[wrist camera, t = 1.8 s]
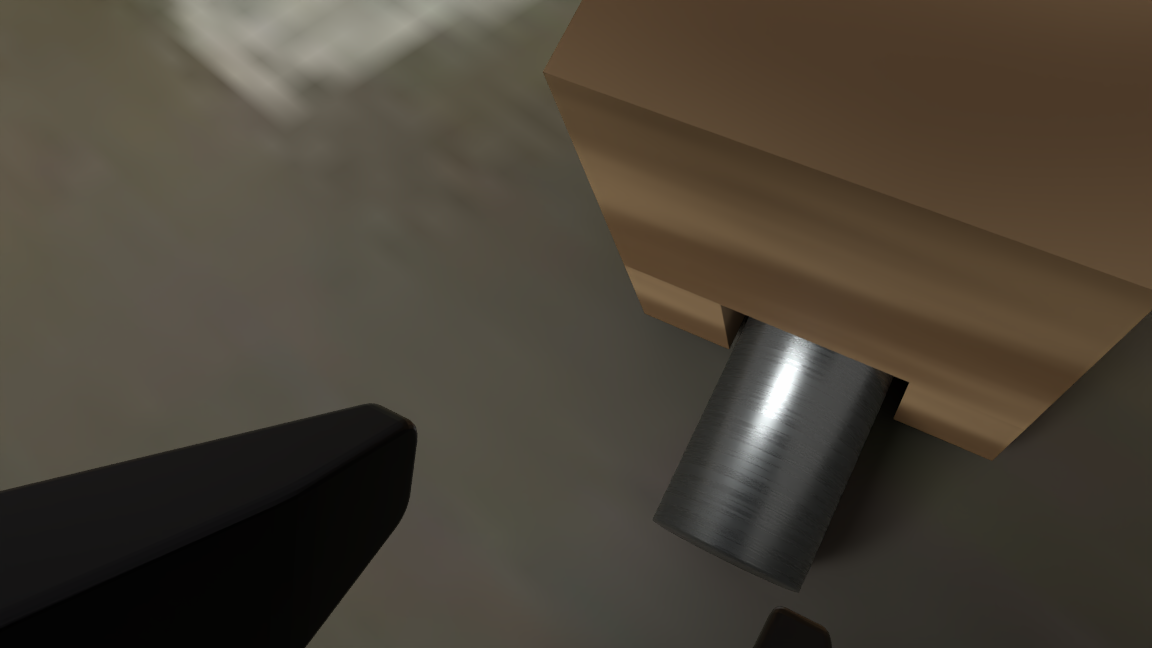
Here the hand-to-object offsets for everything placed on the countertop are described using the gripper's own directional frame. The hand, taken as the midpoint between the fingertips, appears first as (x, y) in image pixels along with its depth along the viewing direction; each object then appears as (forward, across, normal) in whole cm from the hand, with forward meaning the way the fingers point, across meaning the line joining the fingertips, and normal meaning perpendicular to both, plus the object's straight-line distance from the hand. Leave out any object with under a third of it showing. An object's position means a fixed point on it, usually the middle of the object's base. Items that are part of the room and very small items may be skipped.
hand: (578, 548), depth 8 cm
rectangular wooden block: (+15, 0, +5) cm, 15 cm away
